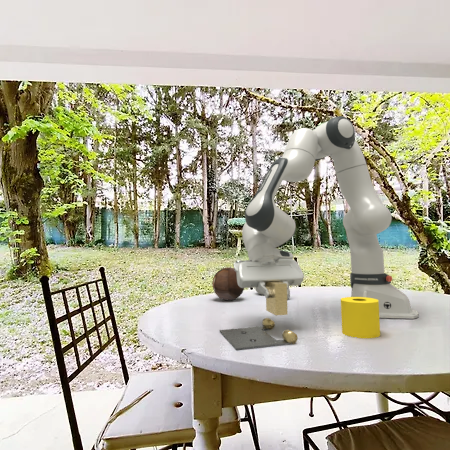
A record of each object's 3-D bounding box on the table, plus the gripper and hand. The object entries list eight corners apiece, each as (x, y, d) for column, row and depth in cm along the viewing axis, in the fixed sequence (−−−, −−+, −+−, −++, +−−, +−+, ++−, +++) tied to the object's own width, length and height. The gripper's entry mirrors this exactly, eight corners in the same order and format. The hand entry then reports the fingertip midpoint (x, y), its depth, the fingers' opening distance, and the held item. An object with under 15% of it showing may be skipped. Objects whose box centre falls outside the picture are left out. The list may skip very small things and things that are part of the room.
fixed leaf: (219, 331, 99) (219, 321, 100) (271, 327, 104) (271, 317, 104) (236, 350, 82) (236, 337, 82) (297, 343, 86) (297, 331, 86)
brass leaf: (266, 310, 98) (265, 281, 98) (277, 309, 99) (276, 280, 99) (275, 315, 91) (275, 284, 91) (287, 314, 92) (286, 283, 92)
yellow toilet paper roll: (373, 340, 87) (371, 304, 88) (336, 334, 94) (334, 300, 94) (385, 332, 95) (383, 298, 95) (350, 327, 101) (348, 295, 102)
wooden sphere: (245, 297, 161) (245, 266, 162) (244, 303, 146) (243, 268, 147) (215, 297, 162) (214, 266, 163) (210, 303, 147) (209, 269, 148)
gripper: (234, 253, 100) (244, 291, 90) (296, 252, 105) (313, 288, 95) (230, 267, 104) (239, 305, 94) (290, 265, 109) (305, 301, 99)
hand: (277, 296), depth 94 cm, fingers closed on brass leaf, 3 cm apart
